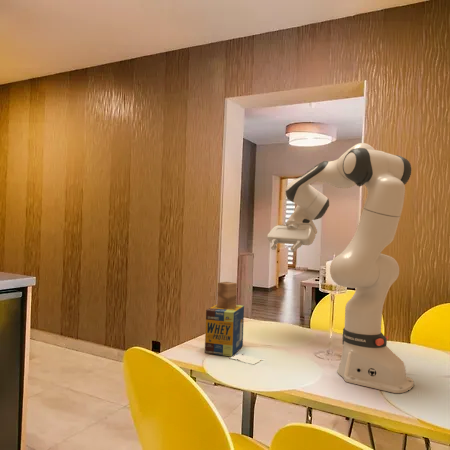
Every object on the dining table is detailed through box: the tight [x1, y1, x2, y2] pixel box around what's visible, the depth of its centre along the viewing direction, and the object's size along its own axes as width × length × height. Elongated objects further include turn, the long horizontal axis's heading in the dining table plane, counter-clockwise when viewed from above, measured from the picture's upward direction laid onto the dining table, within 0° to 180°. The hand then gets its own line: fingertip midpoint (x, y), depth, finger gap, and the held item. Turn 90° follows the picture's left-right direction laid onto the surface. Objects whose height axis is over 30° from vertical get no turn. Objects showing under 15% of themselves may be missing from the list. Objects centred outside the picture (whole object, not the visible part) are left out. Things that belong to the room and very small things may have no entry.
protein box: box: [204, 304, 245, 357], centre depth 151 cm, size 10×15×16 cm
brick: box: [216, 281, 238, 309], centre depth 152 cm, size 5×5×9 cm
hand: (282, 249), depth 163 cm, fingers open, 8 cm apart
